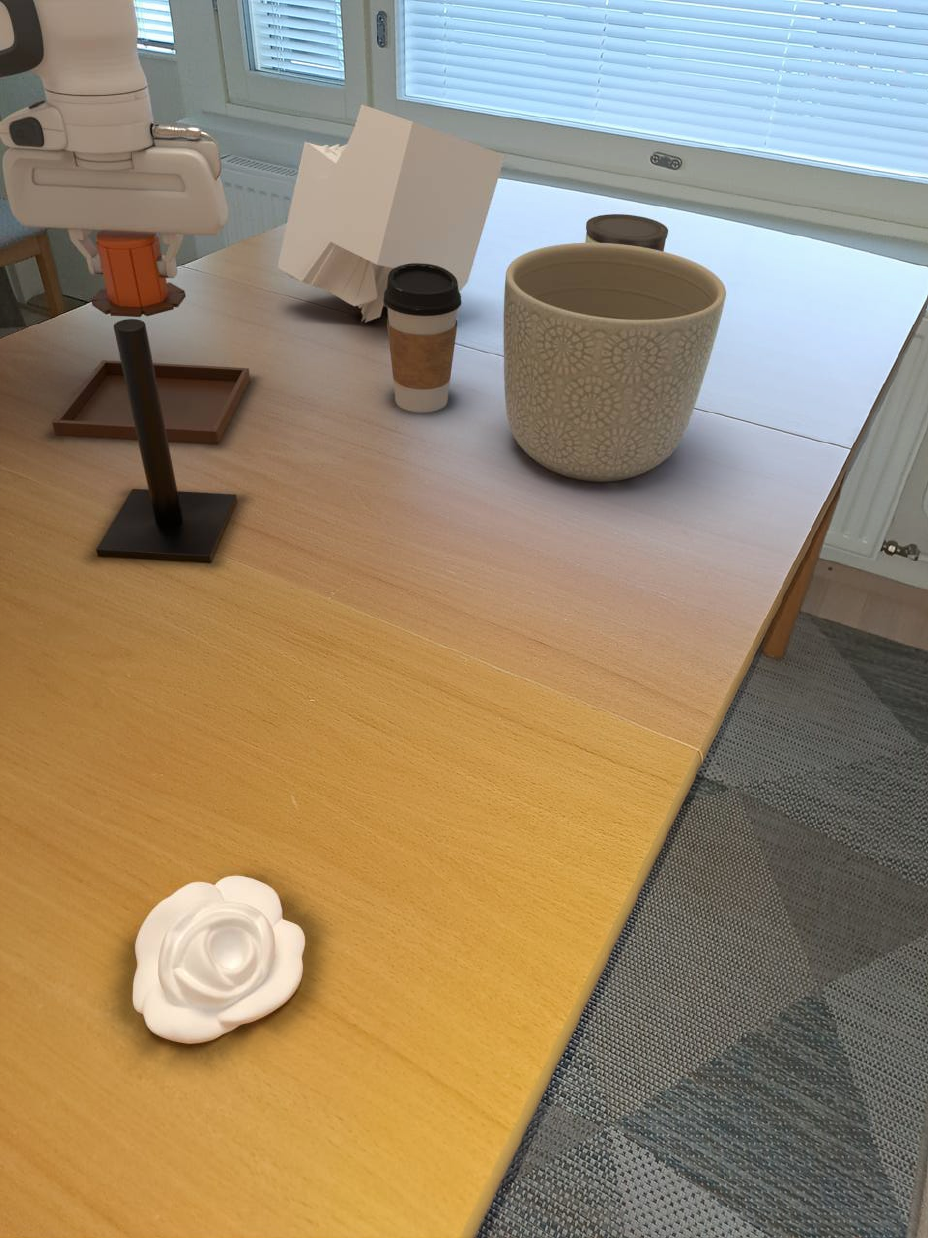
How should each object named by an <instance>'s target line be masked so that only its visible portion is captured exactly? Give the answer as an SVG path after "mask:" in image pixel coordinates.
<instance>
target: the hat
mask: <svg viewBox="0 0 928 1238" xmlns="http://www.w3.org/2000/svg"><path fill="white" fill-rule="evenodd" d="M95 243H96V249H97V250H98V254H99V258H100V263H101V267H102V272H103V275H102V276H103V280H104V285H105V288H101V289H100V290H99V291H98V292H97V293H96V294H94V296H93V297H92V298H91V301H90V302H91V305H92V307H94V308H95V309H97V310H99V311H100V312H101V313H103V314H105V315H109V314H110V316H111V317H128V318H129V317H130V318H131V317H132V318H141V317H143V315H144V316H146V317H150V316H154V315H157V314H162V313H166V312H170V311H173V310H175V308H179V307H180V304H182V302H183V301H184V299H185V298H186V297H187V295H186V291H185V290H184V289H182V288H181V287H179V286H177V285H175V284H174V283H172V282H167V278H160V277H159V275H158V269H157V264H156V261H157V259H158V258H159V257H160V256H161V255H163V254H162V249H161V243H160V238H159V237H158V236H157V233H146V232H125V231H105V230H99V231H98V232H97V233H96V242H95Z"/></svg>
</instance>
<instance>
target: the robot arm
mask: <svg viewBox="0 0 928 1238" xmlns="http://www.w3.org/2000/svg"><path fill="white" fill-rule="evenodd" d="M138 38H139V25H138V19H137V13H136V8H135V2H134V0H0V80H2V79H5V78H8V77H11V76H15V75H19V74H22V73H33V74H36V75H37V76H38V77H39V78H40V80H41V82H42V85H43V90H44V94H45V99H44V100H40V101H37V102H34V103H33V104H30V105H29V106H26V107H23V108H22V109H19V110H17V111H15V112H13V113H11V114H10V115H7V116H6V117H5V118H4V119H2V120H1V121H0V140H1V142H2V143H3V145H5V146H6V147H8V148H7V150H6V151H5V152H4V154H3V157H2V172H3V179H4V180H3V181H4V186H5V190H6V195H7V201H8V204H9V207H10V211H11V213H12V215H13V216H14V218H15V219H16V220H17V222H19V223H20V224H21V225H22V226H24V227H27V228H47V229H66V230H67V233H68V236H69V240H70V241H71V243H72V244H73V245H74V246H75V247H76V249H77V250H78V251H79V252H80V253H81V255H82V256H83V257H84V258H85V260H86V263H87V268H88V272H89V274H90V275H94V276H95V275H96V276H97V275H100V276H101V275H102V276H103V272H102V267H101V263H100V258H99V254H98V249H97V246H95V244H94V242H92V240H91V239H90V237H89V236H90V235H91V233H92V231H101V230H105V231H125V232H146V233H156V234H161V238H162V239H161V240H162V244H163V245H168V248H167V250H166V253H165V254H162V255H161V256H160V257H159V258H158V259H157V261H156V264H157V269H158V275H159V277H160V278H166V279H175V278H176V277H177V275H178V266H177V259H176V257H177V254H178V253H179V249H180V247H181V245H182V242H183V240H184V235H186V236H187V235H188V236H189V235H190V236H209V237H211V236H212V237H213V236H217V235H218V234H219V233H220V232H221V231H222V230H223V229H224V227H225V226H226V224H227V222H228V220H229V211H228V205H227V200H226V195H225V191H224V190H225V189H224V186H223V182H222V178H221V173H222V170H223V166H222V165H223V164H222V157H221V156H222V155H221V149H220V146H219V143H218V142H217V141H216V139H215V138H214V137H213V136H212V135H210V134H209V133H207V132H204V131H203V129H202V128H201V127H198V126H194V125H193V126H192V125H188V126H176V125H172V124H171V125H170V124H157V123H155V120H154V115H153V109H152V102H151V97H150V91H149V85H148V80H147V77H146V74H145V72H144V69H143V67H142V65H141V61H140V57H139V53H138V52H139V51H138ZM203 138H204V139H203Z"/></svg>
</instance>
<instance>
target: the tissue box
mask: <svg viewBox="0 0 928 1238" xmlns="http://www.w3.org/2000/svg"><path fill="white" fill-rule="evenodd" d="M357 114H358V115H357V118H356V121H355V124H354V128H353V130H352V133H351V135H350V137H349V140H348V141H347V143H345V144H344V145H341V144H340V143H337V144H335V145H332V146H329V145H328V144H325V145H317V144H314V143H311V142H308V141H304V144H303V147H302V153H301V157H300V162H299V166H298V171H297V176H296V180H295V185H294V189H293V194H292V198H291V203H290V207H289V212H288V216H287V220H286V221H287V222H286V225H285V230H284V235H283V239H282V243H281V248H280V253H279V258H278V262H277V265H276V266H277V269H279V270H281V271H283V272H284V273H285V275H287V276H288V277H290V278H291V279H294V280H297V281H299V282H302V283H304V284H307V285H310V286H312V287H315V288H320V289H322V290H325V291H327V292H329V293H330V294H332V295H333V296H335V297H337V298H339V299H340V300H341V301H344V302H345V303H347V304H349V305H351V306H353V307H358V309H360V310H361V311H360V313H361V314H362V317H361V320H360V323H362V322H364V323H368V322H370V321H374V320H375V319H378V318H381V315H382V311H383V309H384V308H388V307H387V306H386V305H385V304H384V302H383V299H384V292H385V290H386V289H387V281H388V275H389V272H390V271H391V270H392V269H394V268H396V267H398V266H401V265H405V264H411V263H422V264H431V265H436V266H439V267H442V268H444V269H446V270H448V271H449V272H450V273H452V274H453V275H454V276H455V277H456V279H457V282H458V291H459V292H460V293H461V291H462V290H463V289H464V287H465V286H466V285H467V284H468V283H469V282H468V281H469V279H470V276H471V272H472V269H473V265H474V261H475V258H476V255H477V251H478V249H479V245H480V242H481V238H482V235H483V231H484V229H485V228H484V227H485V225H486V220H487V218H488V214H489V211H490V208H491V204H492V201H493V197H494V193H495V190H496V187H497V183H498V180H499V177H500V173H501V170H502V167H503V164H504V160H505V156H506V154H503V153H500V152H498V151H495V150H492V149H489V148H487V147H484V146H481V145H479V144H476V143H473V142H470V141H467V140H464V139H462V138H459V137H457V136H455V135H454V136H453V135H451V134H448V133H445V132H443V131H439V130H437V129H435V128H431V127H430V126H429V127H428V126H426V125H424V124H421V123H417V122H414V121H412V120H409V119H406V118H403V117H401V116H397V115H394V114H391V113H388V112H386V111H383V110H379V109H377V108H374V107H371V106H367V105H366V104H361V105H360V108H359V111H358V113H357ZM340 145H341V146H340Z"/></svg>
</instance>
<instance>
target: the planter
mask: <svg viewBox="0 0 928 1238" xmlns="http://www.w3.org/2000/svg"><path fill="white" fill-rule="evenodd" d="M503 294H504V297H503V333H502V334H503V384H504V385H503V387H504V400H505V402H504V403H505V411H506V419H507V422H508V426H509V429H510V431H511V434H512V436H513V438H514V439H515V441H516V443H517V444H518V446H519V447H520V448H521V449H522V450H523V452H525V453H526V454H527V456H529V457H530V458H531V459H533V461H535V462H536V463H538V464H539V465H541V466H542V467H544V468H545V469H547V470H549V471H551V472H553V473H555V474H558V475H560V476H563V477H566V478H569V479H573V480H579V481H585V482H596V483H597V482H598V483H602V482H603V483H605V482H607V483H608V482H618V481H623V480H627V479H631V478H634V477H637V476H639V475H640V476H641V475H642V474H644V473H647V472H649V471H651V470H652V469H654V468H656V467H657V466H659V465H660V464H662V463H663V462H664V461H665V460H667V459H668V458H669V457H670V456H671V455H672V454H673V453H674V451H675V450H676V449H677V447H678V446H679V444H680V443H681V441H682V439H683V437H684V435H685V433H686V430H687V428H688V426H689V423H690V420H691V418H692V416H693V412H694V409H695V407H696V404H697V401H698V398H699V395H700V392H701V388H702V385H703V382H704V378H705V375H706V372H707V368H708V365H709V362H710V359H711V356H712V353H713V349H714V346H715V341H716V339H717V335H718V332H719V331H718V330H719V327H720V324H721V320H722V316H723V311H724V307H725V302H726V296H727V290H726V286H725V284H724V283H723V281H722V280H721V279H720V278H719V276H717V275H716V274H715V273H714V272H712V271H711V270H710V269H708V267H707V268H706V267H705V266H704V265H701V264H699V263H697V262H695V261H693V260H691V259H688V258H686V257H683V256H680V255H677V254H674V253H670V252H667V251H664V252H663V251H659V250H654V249H649V248H644V247H638V246H631V245H623V244H611V243H585V242H572V243H563V244H555V245H548V246H545V247H540V248H537V249H534V250H531V251H530V250H529V251H528V252H526V253H523V254H521V255H520V256H518V257H516V258H515V259H514V260H512V261H511V263H510V264H509V265H508V266H507V268H506V272H505V280H504V293H503Z"/></svg>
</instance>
